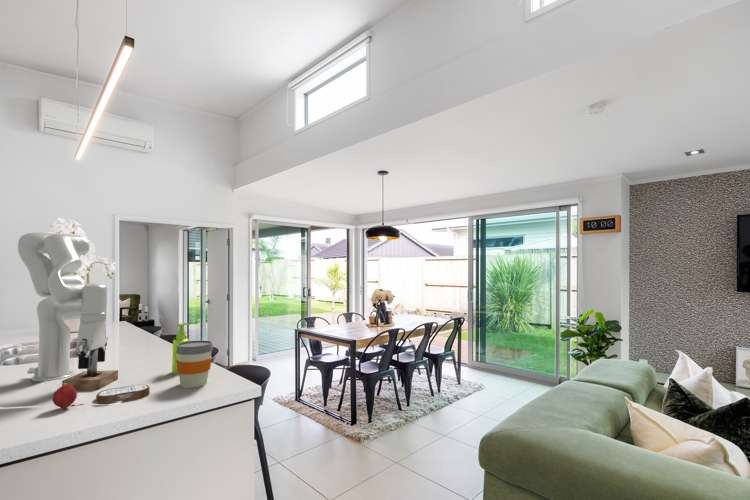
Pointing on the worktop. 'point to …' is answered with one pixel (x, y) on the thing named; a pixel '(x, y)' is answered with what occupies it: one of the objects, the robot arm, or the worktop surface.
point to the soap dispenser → (180, 338)
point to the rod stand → (92, 380)
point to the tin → (122, 394)
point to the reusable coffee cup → (194, 362)
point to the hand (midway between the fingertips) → (92, 365)
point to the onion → (64, 396)
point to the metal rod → (92, 363)
